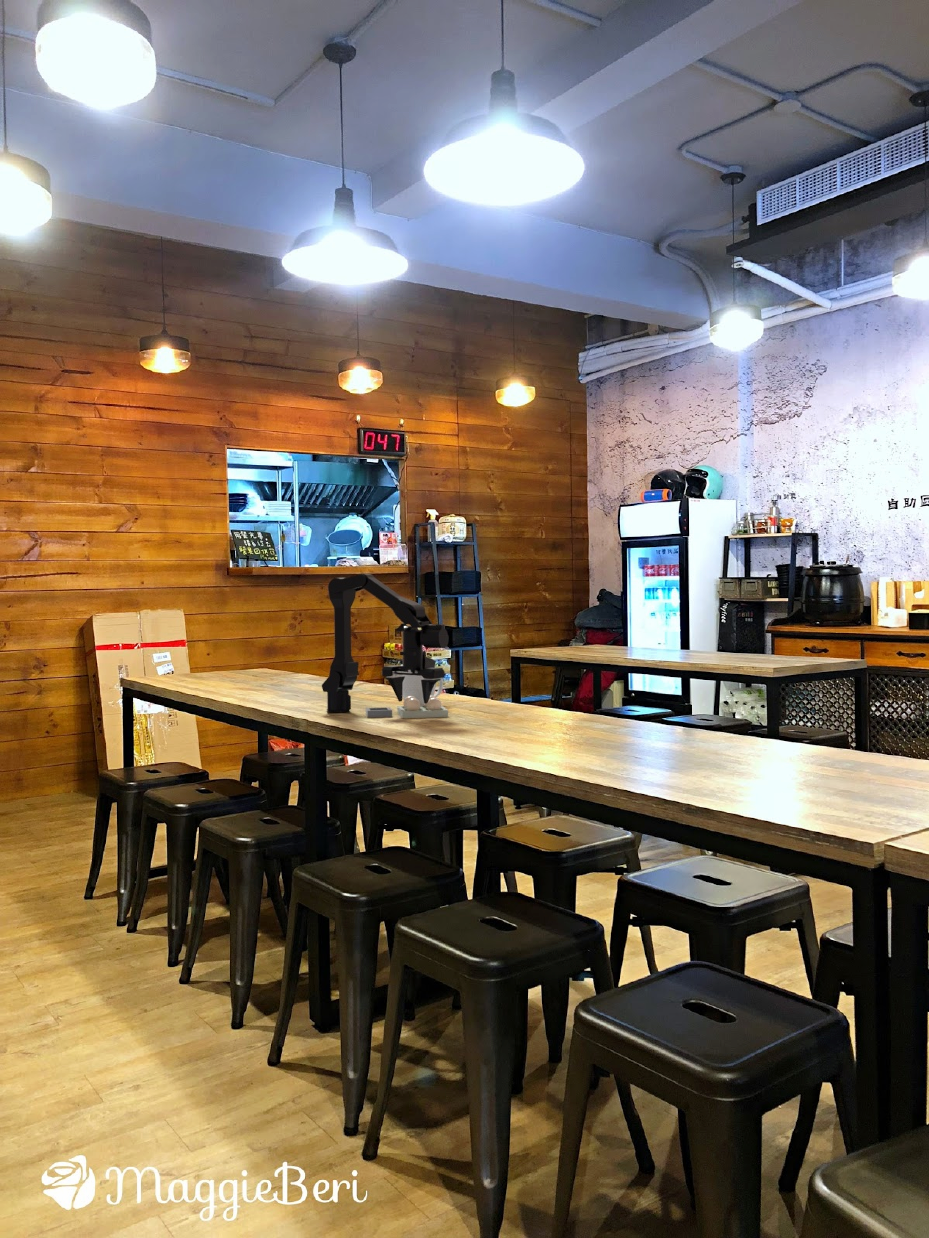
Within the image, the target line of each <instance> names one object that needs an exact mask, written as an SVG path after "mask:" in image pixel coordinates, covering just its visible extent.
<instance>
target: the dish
mask: <svg viewBox="0 0 929 1238" xmlns="http://www.w3.org/2000/svg"><path fill="white" fill-rule="evenodd" d="M365 715H366V717H367V718H393V709H392V708H391V707H389V706H387V707H385V706H384V707H382V706H381V707H365Z"/></svg>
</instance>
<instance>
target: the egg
mask: <svg viewBox="0 0 929 1238" xmlns="http://www.w3.org/2000/svg"><path fill="white" fill-rule="evenodd" d="M420 706H421V705H420V702H419V700H417V699H415V698H411V699H409V700H408V701H407V702H406V709H407V710H408V711H419V709H420Z"/></svg>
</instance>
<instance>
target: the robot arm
mask: <svg viewBox="0 0 929 1238" xmlns="http://www.w3.org/2000/svg"><path fill="white" fill-rule="evenodd" d="M327 584H328V586H327V591H328V598H329V601H330V602H331V604H332V607H333V612H334V613H333V615H334V617H333V619H334V630H333V631H334V657H333V659H332V661H331V663H330V667H329V674H328V677H327V678H326V679H325V681H324V682H323V683H322V684H321V688H322V691H323V692H325V693H326V694H327V695H326V699H327V700H326V706H327V708H326V712H327V713H331V714H332V713H333V714H334V713H350V711H351V710H352V702H351V701H352V697H351V695H350V692H349V691H352V690H353V688H354V684H355V683H356V682H357V680H358V676H360V672H359V666H360V665H359V664H360V663H359V661H355V660H354V657H352V620H351V619H352V615H351V614H352V611H351V610H352V606H353V604H354V602H355V600H356V593H357V592H360V591H364V590H365V591H366V592H368V593H369V594H370V595H372V596H374V597H375V598H376V599H378V600H379V601H380V602H382V603H383V604H384V605H386V606H387V607H389V608H390V609H391V610H392V612H393V613H394V615H395V617H396V618H397V619H398V620H399V621H400V622H401V623H400V624H399V626H398V627H397V628H396V629H395V631H396V633H398V632H399V633H400V632H401V633H402V651H399V656H402V664H403V666H401V665H394V664H393V665H386V666H383V667H382V669H381V677H385V680H387V681H388V684H389V685H390V686H391V689H392V690H393V692H394V694H395V696H396V699H397V700H398V702H402V701H403V680H404V678H405V676H401V675H417V676H422V677H423V678H424V679H423V680H421V684H422V692H423V699H424V703H425V704H426V703H428V701H429V698H430V695H431V692H432V689H433V687H434V685H435V684H436V685H437V683H438V682H439V681H440V680H441V679H440V678H446V675H445V672H446V671H445V670H444V668H443V667H436V668H435V664H436V663H437V662H436V661H437V660H435V659H433V658H431V657H429V656H427V653H426V652H427V651H426V650H423V649H424V648H425V649H446V648H447V647H448V644H449V639H450V638H449V637H450V636H449V634H448V631H447V629H446V626H445V623H441V624H433V622H432V620H430V618H429V616H428V615H427V613H426V607H424V605H422V604H421V603H418V602H416V601H414V600H412V599H409V598H405V597H403V596H402V595H400V594H398V593H397V592H396V591H394V590H392V588H390V587H388V586H387V585H386V584H384V583H383V582H381V581H380V580H378V579H377V578H376V577H375V576H374V575H373V574H372V573H359V574H357V575H354V576H350V577H334V578H331V580H330V581H329V582H328V583H327ZM408 670H411V672H408Z"/></svg>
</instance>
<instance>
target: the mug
mask: <svg viewBox="0 0 929 1238" xmlns="http://www.w3.org/2000/svg"><path fill="white" fill-rule="evenodd" d="M400 666H403V663H402V664H400ZM435 668H437V664H436V663H435ZM408 672H411V670H408ZM401 676H405V678H404V680H403V697H402V700H404V699H405V698H406V697H408V696H413V697H415V698H416V699H417V700H419V702H420V705H424V699H423V692H422V684H421V680H423V679H424V678H423V677H422V676H417V675H401ZM440 679H441V680H440V681H438V683H439V684H438V685H439V686H438V689H437V691H436V687H437V686H436V685H437V683H436V684H435V685H434V687H433V689H432V692H431V695H432V696H435V697H436V698H438V697H439V696H440V695H441V693H442V691H443V689H444V679H443V678H440Z"/></svg>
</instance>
